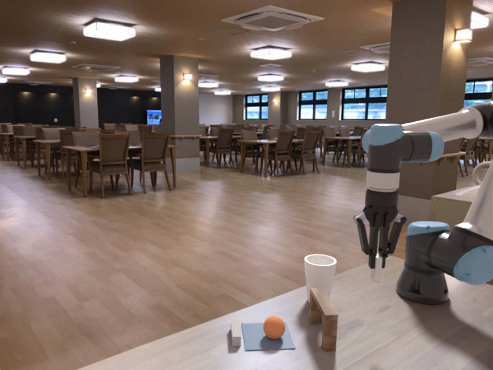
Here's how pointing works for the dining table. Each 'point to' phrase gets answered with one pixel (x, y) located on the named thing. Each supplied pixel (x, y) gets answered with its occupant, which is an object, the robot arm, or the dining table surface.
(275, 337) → the ball
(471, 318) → the dining table surface
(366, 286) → the dining table surface
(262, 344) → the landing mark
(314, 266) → the foam cup
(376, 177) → the robot arm
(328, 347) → the bridge
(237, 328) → the beige rectangular bar
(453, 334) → the dining table surface
